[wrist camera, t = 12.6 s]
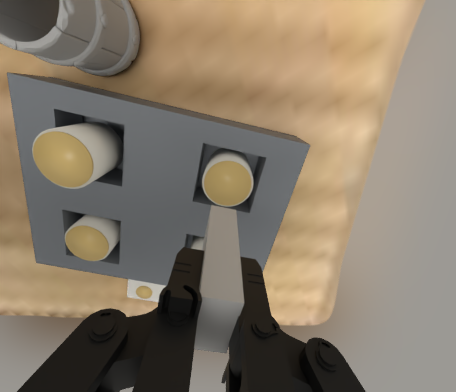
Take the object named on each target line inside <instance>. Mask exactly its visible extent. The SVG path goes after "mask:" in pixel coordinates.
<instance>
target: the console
mask: <svg viewBox="0 0 456 392" xmlns="http://www.w3.org/2000/svg"><path fill="white" fill-rule="evenodd" d="M7 77H8V83H9V90H10V96H11V103H12V109H13V116H14V122H15V129H16V135H17V142H18V148H19V155H20V161H21V168H22V174H23V181H24V187H25V194H26V200H27V207H28V213H29V220H30V226H31V233H32V239H33V246H34V252H35V259H36V263H40V264H46V265H51V266H57V267H63V268H68V269H74V270H80V271H85V272H91V273H97V274H102V275H108V276H114V277H119V278H125V279H131V280H136V281H142V282H148V283H153V284H159V285H165V286H167V285H168V281H169V278H170V275H171V272H172V268H173V265H174V262H175V259H176V255H177V253H178V252H179V251H180V250H181V249H182V248H183V247H186V248H190V246H191V243H192V239H193V235H195V236H200V237H205V232H206V228H207V223H208V218H209V214H210V209H211V205H214V206H219V207H224V208H229V209H234V210H236V214H237V226H238V237H239V248H240V256H241V257H246V258H252V259H256V260H257V262H258V263H259V265H260V266H261V268H262V272H263V269H264V267H265V264H266V262H267V259H268V256H269V254H270V251H271V248H272V246H273V243H274V240H275V238H276V235H277V232H278V230H279V227H280V224H281V222H282V219H283V216H284V214H285V211H286V208H287V206H288V203H289V200H290V198H291V195H292V193H293V190H294V187H295V185H296V182H297V179H298V177H299V174H300V171H301V169H302V166H303V163H304V161H305V158H306V155H307V153H308V150H309V147H310V145H309V144H308V143H306V142H304V141H303V140H301V139H300V138H298V137H296V136H293V135H289V134H285V133H281V132H277V131H272V130H268V129H264V128H260V127H256V126H252V125H248V124H243V123H239V122H235V121H231V120H227V119H223V118H219V117H214V116H210V115H206V114H202V113H198V112H194V111H190V110H185V109H181V108H177V107H173V106H169V105H165V104H161V103H156V102H152V101H148V100H144V99H140V98H136V97H132V96H127V95H123V94H119V93H115V92H111V91H107V90H103V89H98V88H94V87H90V86H86V85H82V84H78V83H74V82H69V81H65V80H61V79H57V78H53V77H45V76H35V75H26V74H17V73H7ZM92 121H93V122H100V123H103V124H106V125H107V126H109V127H110V128H112V129H113V130H114V131H115V132H116V133H117V134H118V136H119V137H120V139H121V141H122V144H123V148H124V154H123V159H122V161H121V163H120V164H119V165H118V166H117V167H116V168H114V169H112V170H111V171H109V172H107V173H106V174H104V175H103V176H101V177H99V178H98V179H96V180H95V181H93V182H91V183H90V184H88V185H86V186H85V187H82V188H78V189H69V188H64V187H61V186H58V185H56V184H54V183H53V182H51V181H50V180H49V179H47V178H46V177H45V176H44V175H43V174H42V173H41V171H40V170H39V169H38V167H37V165H36V163H35V161H34V158H33V153H32V147H33V142H34V140H35V138H36V137H37V136H38V135H39V134H40V133H41V132H42V131H45V130H47V129H52V128H57V127H63V126H69V125H74V124H80V123H85V122H92ZM220 148H227V149H231V150H235V151H240V152H243V153H244V154H245V156H246V157H247V159H248V161H249V165H250V169H251V172H252V176H253V189H252V192H251V194H250V195H249V197H248V198H247V199H246V200H245V201H244V202H242V203H241V204H238V205H236V206H230V207H225V206H220V205H217V204H215V203H214V202H212V201H211V200H210V199H209V198H208V197H207V196H206V194H205V193H204V190H203V187H202V178H203V174H204V172H205V169H206V166H207V163H208V160H209V158H210V156H211V155H212V154H213V153H214V152H215V151H216V150H218V149H220ZM86 214H88V215H93V216H98V217H103V218H108V219H113V220H118V221H121V233H120V240H119V242H118V243H117V244H116V246H115V247H114V248H113V250H112V251H111V252H110V253H109V255H108V256H107V257H106V258H104V259H102V260H99V261H87V260H84V259H81V258H79V257H77V256H75V255H74V254H73V253H72V252H71V251H70V250H69V249H68V247H67V245H66V243H65V233H66V231H67V230H68V229H69V228H70V227H71V226H72V225H73V224H75V223H76V222H77V221H78V220H80V219H81V218H82V217H83V216H84V215H86Z"/></svg>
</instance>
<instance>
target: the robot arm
mask: <svg viewBox="0 0 456 392" xmlns="http://www.w3.org/2000/svg"><path fill="white" fill-rule="evenodd" d="M264 284H265V283H264V278H263V273H262V268H261V266H260V265H259V263H258V262H257V260H256V259H252V258H246V257H241V256H240V248H239V237H238V226H237V214H236V210H234V209H229V208H224V207H219V206H214V205H211V209H210V214H209V218H208V223H207V228H206V232H205V237H204V241H203V247H202V250H197V249H192V248H186V247H183V248H182V249H181V250H180V251H179V252H178V253H177V255H176V259H175V262H174V265H173V268H172V272H171V275H170V278H169V281H168V285H167V286H166V287H164V288H163V290H162V291H161V293H160V295H159V302H158V307H157V308H155V309H154V310H153V311H151V312H149V313H147V314H143V315H138V316H132V317H126V315H125V314H124V313H123V312H121V311H120V310H116V309H103V310H100V311H97V312H95V313H93V314H91V315H90V316H89V317H87V318H86V319H85V320H84V321H83V322H82V323H81V324H80V325H79V326H78V327H77V328H76V329H75V330H74V331H73V332H72V333H71V335H69V337H68V338H67V339H66V340H65V341H64V342H63V343H62V344H61V345H60V346H59V347H58V348H57V350H56V351H55V352H54V353H53V354H52V355H51V356H50V357H49V358H48V359H47V360H46V361H45V362H44V363H43V364H42V365H41V366H40V368H39V369H38V370H37V371H36V372H35V373H34V374H33V375H32V376H31V377H30V378H29V379H28V380H27V381H26V382H25V383H24V385H23V386H22V387H21V388H20V389H19V390H18V391H17V392H119V391H120V390H122V389H126V388H130V387H133V386H134V388H133V391H132V392H189V385H190V377H191V370H192V361H193V352H194V349H197V350H205V351H212V352H220V353H227V350H228V347H229V361H228V363H227V366H226V369H225V371H224V374H223V377H222V383H225V381H226V392H365V390H364V388H363V387H362V385H361V384H360V382H359V381H358V379H357V377H356V376H355V374H354V373H353V371H352V370H351V368H350V367H349V365H348V363H347V362H346V360H345V359H344V357H343V356H342V354H341V353H340V352H339V351H338V349H337V348H336V347H335V346H333V345H332V344H331V343H330V342H328V341H326V340H324V339H322V338H312V339H309V340H308V342H307V343H304V342H302V341H300V340H297V339H295V338H293V337H291V336H289V335H288V334H286V333H284V332H283V331H282V330H281V329H280V327H279V324H278V323H277V322H276V320H275V319H274V318H273V317H272V316H271V312H270V307H269V303H268V298H267V293H266V288H265V285H264Z"/></svg>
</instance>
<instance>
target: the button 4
mask: <svg viewBox="0 0 456 392" xmlns="http://www.w3.org/2000/svg"><path fill="white" fill-rule="evenodd" d="M202 187H203V190H204V193H205V194H206V196H207V197H208V198H209V199H210V200H211V201H212V202H214V203H215V204H217V205H220V206H225V207H230V206H236V205H238V204H241V203H242V202H244V201H245V200H246V199H247V198H248V197H249V195H250V194H251V192H252V189H253V176H252V172H251V169H250V165H249V161H248V159H247V157H246V156H245V154H244V153H243V152H240V151H235V150H231V149H227V148H220V149H218V150H216V151H215V152H214V153H213V154H212V155H211V156H210V158H209V160H208V163H207V166H206V169H205V172H204V174H203V178H202Z"/></svg>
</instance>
